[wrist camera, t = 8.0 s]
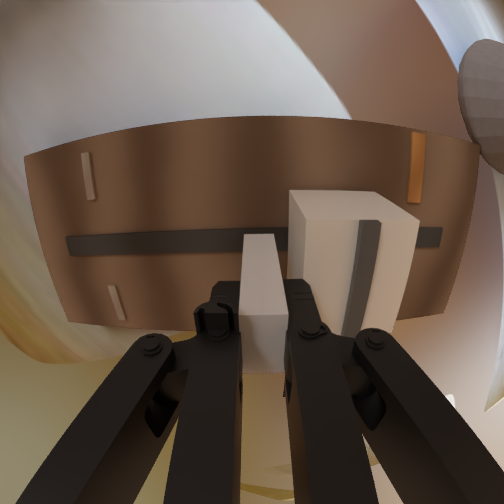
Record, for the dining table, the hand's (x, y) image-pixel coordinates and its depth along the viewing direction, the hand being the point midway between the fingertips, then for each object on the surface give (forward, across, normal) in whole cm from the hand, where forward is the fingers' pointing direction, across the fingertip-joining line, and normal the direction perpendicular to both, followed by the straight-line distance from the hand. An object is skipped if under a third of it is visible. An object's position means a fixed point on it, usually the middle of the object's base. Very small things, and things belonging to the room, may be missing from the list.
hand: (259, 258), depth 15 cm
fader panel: (+5, 0, 0) cm, 5 cm away
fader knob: (+2, +4, 0) cm, 5 cm away
